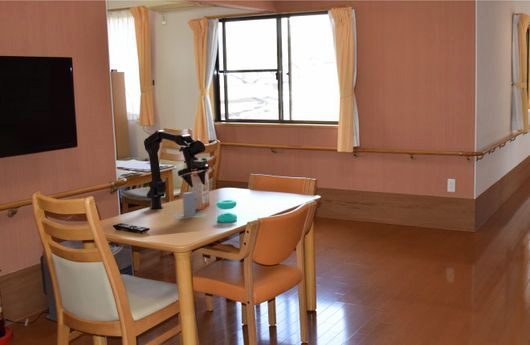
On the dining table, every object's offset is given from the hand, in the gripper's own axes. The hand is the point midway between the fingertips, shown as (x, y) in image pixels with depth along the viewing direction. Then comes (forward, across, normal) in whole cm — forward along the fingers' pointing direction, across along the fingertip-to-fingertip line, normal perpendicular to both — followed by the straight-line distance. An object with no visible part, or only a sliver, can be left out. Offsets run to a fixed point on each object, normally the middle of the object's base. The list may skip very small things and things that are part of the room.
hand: (198, 185), depth 338 cm
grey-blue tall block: (+14, -7, +5) cm, 16 cm away
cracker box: (+11, +14, +15) cm, 23 cm away
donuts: (+22, -6, -18) cm, 29 cm away
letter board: (+14, -7, +5) cm, 17 cm away
